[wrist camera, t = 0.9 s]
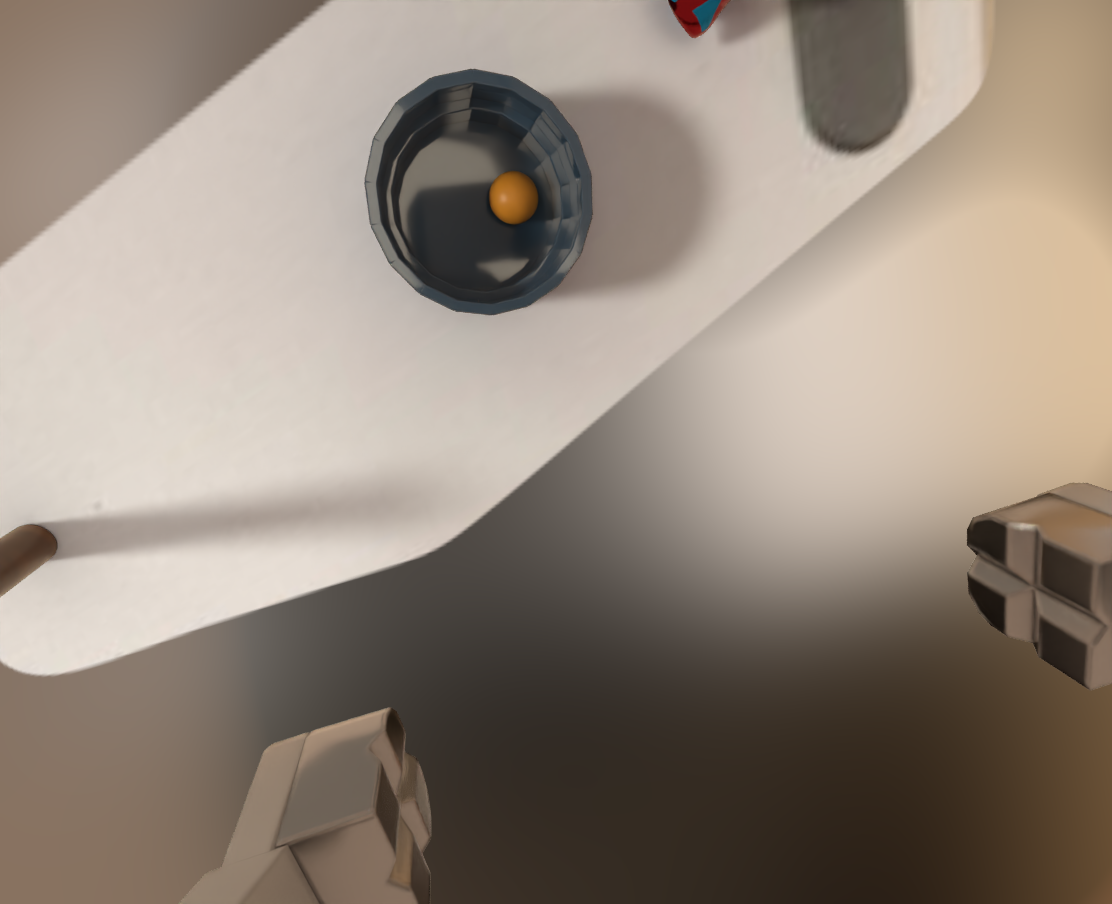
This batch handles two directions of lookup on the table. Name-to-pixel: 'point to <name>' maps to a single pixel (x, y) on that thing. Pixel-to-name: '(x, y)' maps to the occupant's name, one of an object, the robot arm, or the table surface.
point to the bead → (513, 197)
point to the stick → (23, 554)
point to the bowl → (477, 191)
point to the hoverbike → (697, 14)
